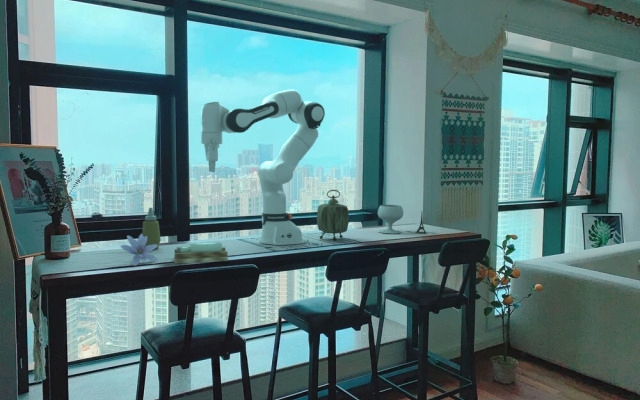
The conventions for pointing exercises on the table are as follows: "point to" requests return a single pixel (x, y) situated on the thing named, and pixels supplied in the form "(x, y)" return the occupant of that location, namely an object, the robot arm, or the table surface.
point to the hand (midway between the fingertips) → (212, 171)
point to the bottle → (201, 247)
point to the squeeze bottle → (151, 229)
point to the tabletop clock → (332, 217)
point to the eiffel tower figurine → (420, 228)
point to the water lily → (139, 249)
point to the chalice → (390, 216)
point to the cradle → (201, 256)
